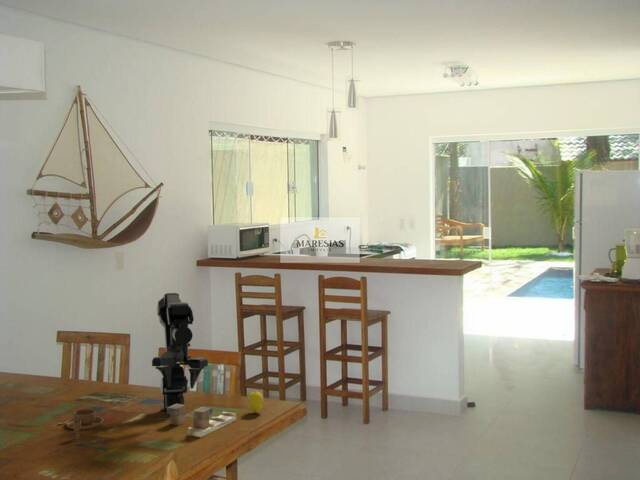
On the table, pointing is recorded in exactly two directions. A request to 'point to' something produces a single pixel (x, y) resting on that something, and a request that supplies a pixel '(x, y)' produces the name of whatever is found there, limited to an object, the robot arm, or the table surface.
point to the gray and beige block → (177, 414)
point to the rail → (216, 426)
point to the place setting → (83, 420)
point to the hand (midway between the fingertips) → (180, 387)
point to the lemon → (255, 401)
